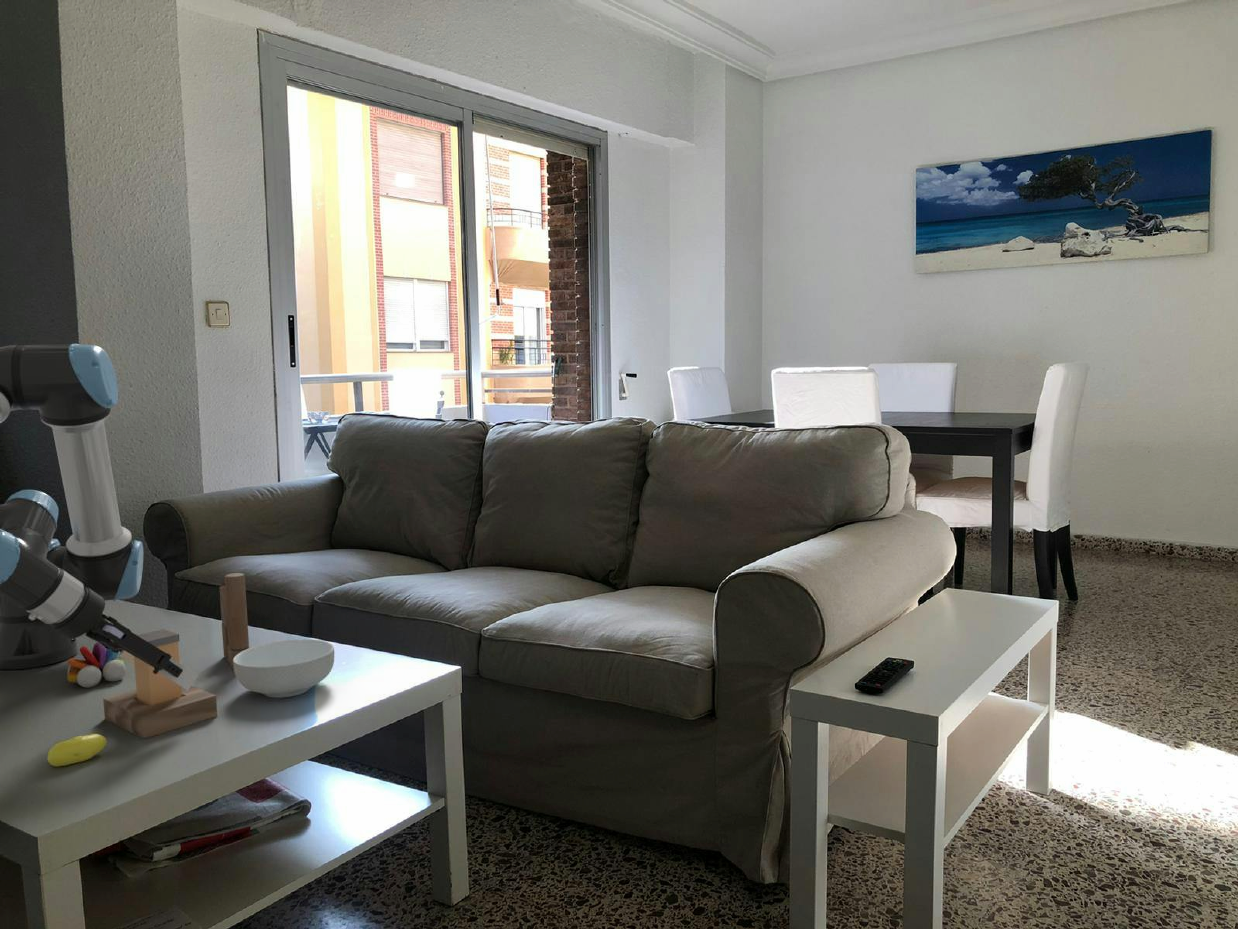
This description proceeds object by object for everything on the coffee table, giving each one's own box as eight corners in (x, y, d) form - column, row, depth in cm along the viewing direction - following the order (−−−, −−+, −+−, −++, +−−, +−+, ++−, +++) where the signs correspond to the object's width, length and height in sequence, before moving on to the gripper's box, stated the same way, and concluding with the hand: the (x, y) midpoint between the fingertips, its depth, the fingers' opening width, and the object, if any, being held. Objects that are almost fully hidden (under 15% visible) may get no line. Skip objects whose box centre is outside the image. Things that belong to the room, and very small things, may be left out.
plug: (137, 719, 159) (130, 636, 157) (169, 709, 163) (163, 628, 161) (152, 726, 155) (145, 641, 154) (185, 716, 159) (179, 634, 158)
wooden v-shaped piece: (242, 653, 193) (236, 565, 191) (252, 667, 184) (246, 575, 182) (223, 656, 192) (217, 567, 189) (232, 671, 182) (225, 577, 180)
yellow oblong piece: (44, 765, 141) (41, 740, 141) (103, 749, 147) (101, 724, 146) (52, 774, 138) (50, 748, 138) (112, 757, 144) (110, 732, 143)
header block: (104, 719, 159) (103, 698, 158) (176, 698, 168) (175, 678, 168) (143, 739, 150) (142, 717, 149) (217, 715, 159) (215, 695, 159)
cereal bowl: (341, 671, 181) (339, 635, 180) (330, 702, 164) (328, 662, 163) (246, 678, 178) (243, 641, 177) (225, 711, 161) (222, 670, 161)
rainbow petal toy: (61, 683, 178) (57, 645, 177) (116, 670, 185) (113, 633, 184) (77, 693, 172) (73, 653, 171) (133, 679, 179) (130, 641, 178)
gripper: (19, 614, 153) (124, 680, 166) (83, 640, 137) (194, 711, 151) (52, 574, 156) (153, 643, 170) (118, 596, 141) (224, 669, 154)
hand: (173, 675), depth 160 cm, fingers open, 12 cm apart
